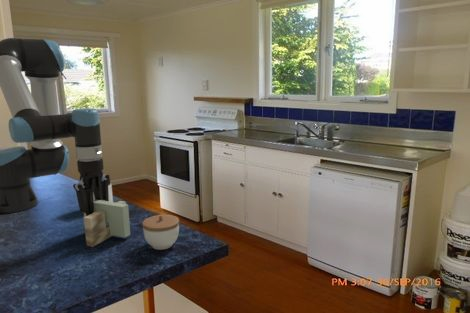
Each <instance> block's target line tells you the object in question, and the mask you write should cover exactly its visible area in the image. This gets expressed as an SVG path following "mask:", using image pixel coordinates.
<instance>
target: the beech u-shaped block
mask: <svg viewBox="0 0 470 313" xmlns="http://www.w3.org/2000/svg"><path fill="white" fill-rule="evenodd" d="M115 203H122V204H127V202H126V201H125V200H124V201H123V200H118V201H116V202H115ZM83 224H84V234H85V243H86V246H88V247H92V248H94V247H95V246H97V245H98V244H100V243H102V242H104V241H106V240H108V239H109V238H111V237H113V236H114V235H110V231H109V223H108V224H107V222H105V212H103V211H97V212H94V213H92V214H90V215H88V216H86V217H84V216H83Z"/></svg>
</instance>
